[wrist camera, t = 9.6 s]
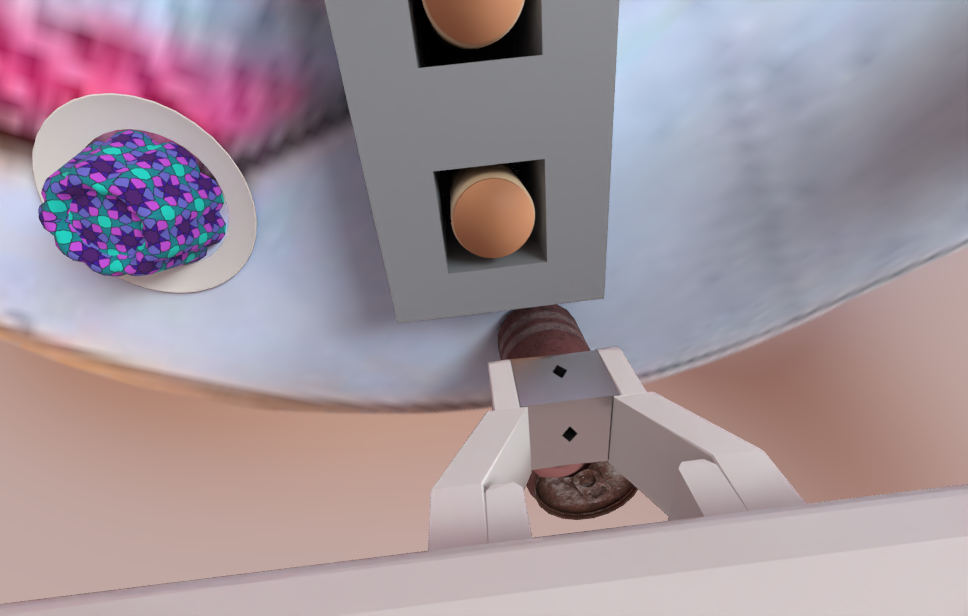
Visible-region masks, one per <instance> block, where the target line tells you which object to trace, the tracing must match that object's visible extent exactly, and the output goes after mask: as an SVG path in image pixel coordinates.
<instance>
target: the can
mask: <svg viewBox="0 0 968 616" xmlns="http://www.w3.org/2000/svg"><path fill="white" fill-rule="evenodd" d="M498 348H499V353H500V358H501V360H508V359H509V360H510V359H518V358H528V357H539V356H549V355H561V354H569V353H577V352H585V351H590V349H589V347H588V345H587V343H586V341H585V339H584V337H583V335H582V333H581V331H580V329H579V327H578V325H577V324H576V322H575V320H574V318H573V317H572V316H571V314H570V313H569V312H568V311H567V310H566V309H564V308H562V307H561V306H559V305H557V304H554V305H546V306H538V307H530V308H521V309H516V310H515V311H514V312H512V313H511V314H509V315H508V317H507V318H506V319H505V320H504V322H503V323H502V324H501V327H500V330H499V333H498ZM531 471H532V473H531V475H530V477H529V480H528V482H527V485H526V486H527V488H528V490H529V491H530V494H531V495H532V496H533V497H534V498H535V499H536V500H537V502H538V504H539V506H540V507H541V508H543V509H544V510H545V511H546V512H548V513H549V514H551V515H554V516H557V517H560V518H563V519H564V518H565V519H574V520H580V519H589V518H595V517H598V516H602V515H605V514H608V513H610V512H612V511H614V510H616V509H618V508H619V507H621V506H623V505H624V504H625V503H626V502H627V501H629V500H630V499H631V498H632V497H633V496H634V495H635V493H636V492H637V490H638V488H636V487H635V486H634V485H633V484H632V483H631V482H630V481H629V480H627V479H626V478H625V477H624V476H623V475H622V474H621V473H620V472H619V471H617V470H616V469H615V468H614V467H613V466H612V465H611V464H610V463H609V461H601V462H591V463H580V464H569V465H563V466H556V467H549V468H543V469H536V470H531Z"/></svg>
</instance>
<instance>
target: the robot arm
mask: <svg viewBox="0 0 968 616" xmlns="http://www.w3.org/2000/svg"><path fill="white" fill-rule="evenodd" d="M488 373H489V382H490V391H491V400H492V409H493V411H488V412H487V413H486V414H485V415H484V417H483V418H482V419H481V421H480V422H479V424H478V425H477V426H476V428H475V429H474V431H473V432H472V433H471V435H470V436H469V438H468V439H467V440H466V442H465V443H464V445H463V446H462V448H461V449H460V450H459V452H458V453H457V455H456V456H455V457H454V459H453V460H452V461H451V463H450V464H449V466H448V467H447V468H446V470H445V471H444V473H443V474H442V476H441V477H440V478H439V480H438V481H437V482H436V484H435V486H434V487H433V488H432V490H431V501H430V522H429V543H428V551H424V552H414V553H406V554H398V555H390V556H383V557H374V558H366V559H359V560H350V561H342V562H335V563H326V564H318V565H311V566H302V567H294V568H286V569H278V570H270V571H262V572H254V573H246V574H237V575H229V576H222V577H213V578H205V579H198V580H190V581H182V582H173V583H166V584H158V585H149V586H141V587H134V588H126V589H118V590H109V591H102V592H93V593H85V594H77V595H70V596H61V597H54V598H45V599H37V600H29V601H21V602H13V603H5V604H0V616H968V484H963V485H956V486H947V487H939V488H930V489H922V490H915V491H906V492H898V493H891V494H882V495H874V496H866V497H858V498H850V499H842V500H834V501H825V502H817V503H809V504H806V503H805V501H804V500H803V499H802V498H801V497H800V495H799V494H798V493H797V492H796V490H795V489H794V488H793V487H792V485H791V484H790V483H789V482H788V480H787V479H786V478H785V477H784V475H783V474H782V473H781V472H780V470H779V469H778V468H777V467H776V466H775V464H774V463H773V462H772V461H771V459H770V458H769V457H768V455H767V454H766V453H765V452H764V451H763V450H762V449H760V448H758V447H756V446H754V445H752V444H750V443H749V442H747V441H745V440H743V439H741V438H739V437H737V436H735V435H734V434H732V433H730V432H728V431H726V430H724V429H722V428H721V427H719V426H717V425H715V424H713V423H711V422H709V421H707V420H706V419H704V418H702V417H700V416H698V415H696V414H694V413H693V412H691V411H689V410H687V409H685V408H683V407H681V406H679V405H678V404H676V403H674V402H672V401H670V400H668V399H666V398H664V397H663V396H661V395H659V394H657V393H655V392H646V390H645V389H644V387H643V385H642V383H641V382H640V380H639V379H638V377H637V375H636V374H635V372H634V370H633V369H632V367H631V365H630V364H629V362H628V360H627V359H626V357H625V356H624V354H623V352H622V351H621V349H620V348H619V347H617V346H616V347H609V348H602V349H595V350H594V351H585V352H577V353H569V354H561V355H549V356H539V357H528V358H518V359H510V360H509V359H508V360H499V361H490V362H488ZM601 461H609V463H610V464H611V465H612V466H613V467H614V468H615V469H616V470H617V471H619V472H620V473H621V474H622V475H623V476H624V477H625V478H626V479H627V480H629V481H630V482H631V483H632V484H633V485H634V486H635V487H636V488H638V489H639V490H640V491H641V492H642V493H643V494H644V495H645V496H646V497H648V498H649V499H650V500H651V501H652V502H653V503H654V504H655V505H657V506H658V507H659V508H660V509H661V510H662V511H664V513H665V514H667V515H668V516H669V518H668V521H664V522H656V523H648V524H641V525H632V526H624V527H616V528H608V529H600V530H592V531H584V532H575V533H568V534H559V535H552V536H543V537H535V538H532V534H531V528H530V523H529V518H528V512H527V507H526V502H525V497H524V489H525V487H526V485H527V482H528V480H529V477H530V475H531V473H532V471H531V470H536V469H543V468H549V467H556V466H563V465H569V464H580V463H591V462H601Z"/></svg>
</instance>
